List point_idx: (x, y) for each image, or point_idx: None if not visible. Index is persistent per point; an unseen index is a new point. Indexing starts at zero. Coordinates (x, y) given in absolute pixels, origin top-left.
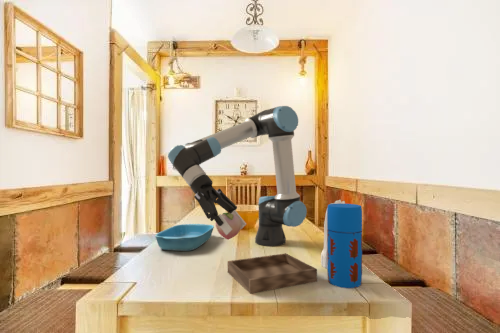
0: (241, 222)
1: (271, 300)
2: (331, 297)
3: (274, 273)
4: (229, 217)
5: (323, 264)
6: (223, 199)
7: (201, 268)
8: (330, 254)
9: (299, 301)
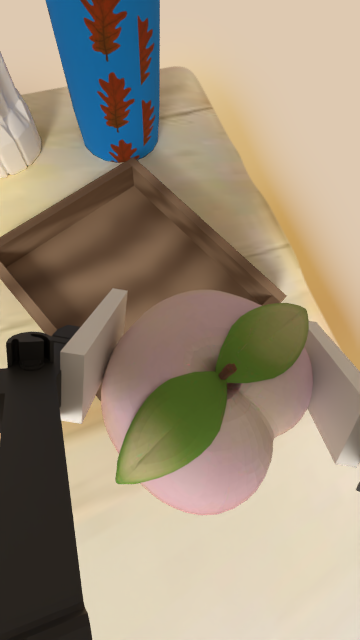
0: (119, 316)
1: (286, 257)
2: (219, 156)
3: (129, 276)
4: (308, 327)
5: (14, 166)
6: (21, 551)
7: (119, 582)
8: (140, 83)
9: (264, 206)
